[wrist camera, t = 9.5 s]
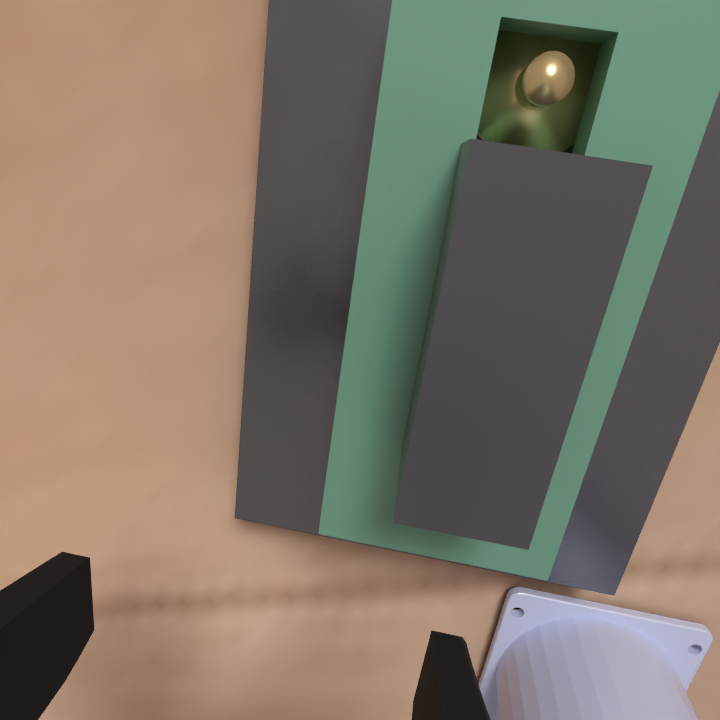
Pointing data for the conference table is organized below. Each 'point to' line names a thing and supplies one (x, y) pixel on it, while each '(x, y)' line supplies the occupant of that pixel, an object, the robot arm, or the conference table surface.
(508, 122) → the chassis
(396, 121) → the board
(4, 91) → the conference table surface
